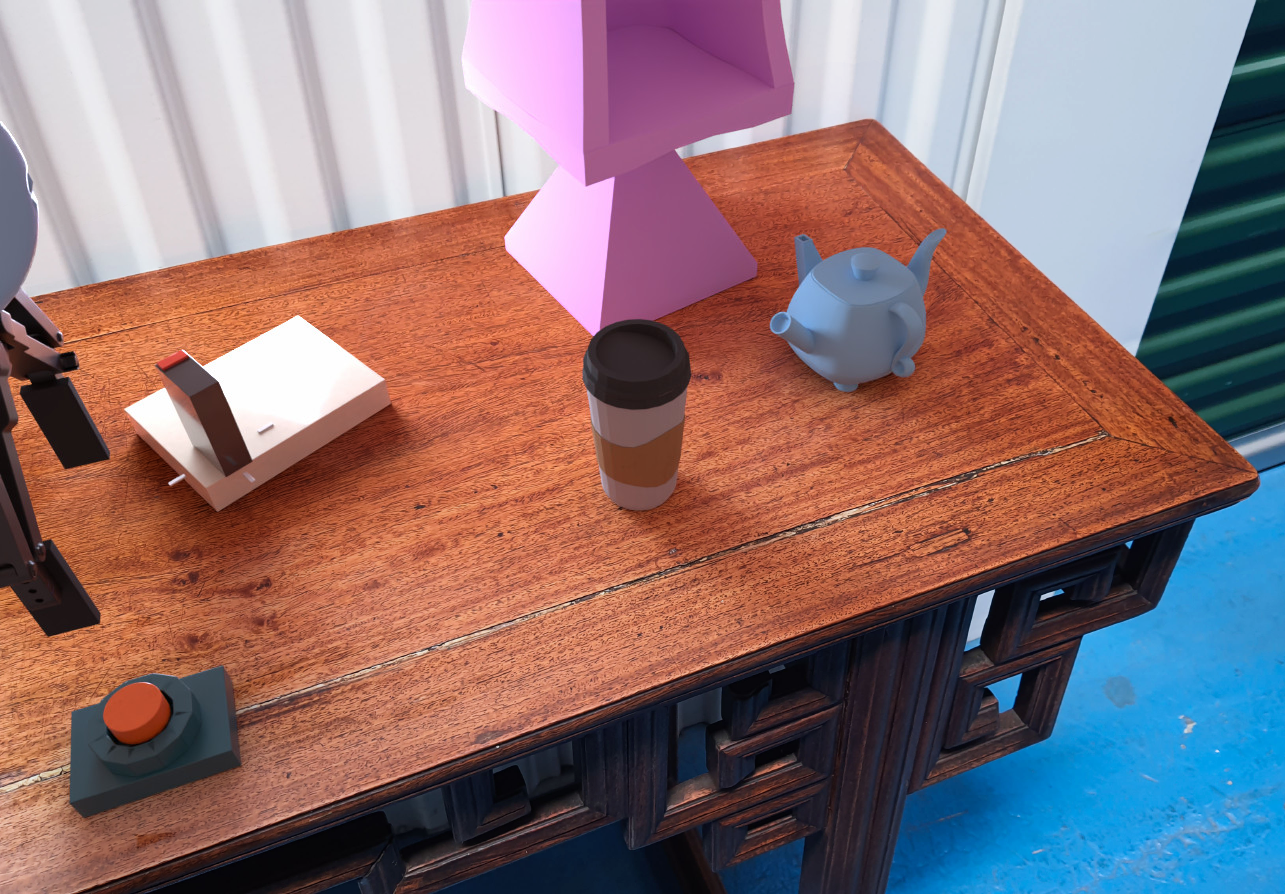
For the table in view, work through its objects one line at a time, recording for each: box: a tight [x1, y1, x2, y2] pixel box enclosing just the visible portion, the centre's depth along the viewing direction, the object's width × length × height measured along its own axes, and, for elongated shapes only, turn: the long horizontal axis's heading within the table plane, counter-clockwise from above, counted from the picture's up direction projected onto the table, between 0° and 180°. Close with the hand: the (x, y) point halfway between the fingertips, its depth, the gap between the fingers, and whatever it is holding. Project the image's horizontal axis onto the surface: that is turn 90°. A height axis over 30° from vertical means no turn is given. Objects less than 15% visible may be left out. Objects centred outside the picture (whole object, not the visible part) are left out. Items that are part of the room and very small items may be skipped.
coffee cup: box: [581, 319, 692, 512], centre depth 79 cm, size 8×8×15 cm
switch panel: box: [123, 315, 392, 513], centre depth 89 cm, size 20×16×3 cm
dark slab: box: [154, 349, 253, 477], centre depth 80 cm, size 6×2×9 cm, turn 47°
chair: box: [461, 0, 795, 337], centre depth 91 cm, size 22×22×45 cm
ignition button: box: [103, 682, 171, 745], centre depth 65 cm, size 4×4×2 cm
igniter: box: [68, 664, 242, 819], centre depth 67 cm, size 10×7×4 cm
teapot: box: [769, 227, 947, 393], centre depth 92 cm, size 15×14×11 cm
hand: (82, 537), depth 60 cm, fingers open, 13 cm apart
